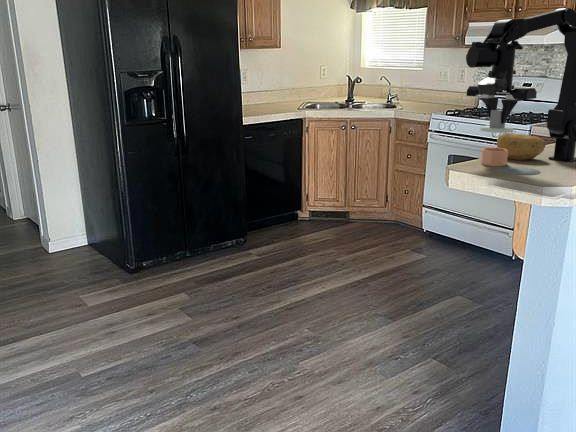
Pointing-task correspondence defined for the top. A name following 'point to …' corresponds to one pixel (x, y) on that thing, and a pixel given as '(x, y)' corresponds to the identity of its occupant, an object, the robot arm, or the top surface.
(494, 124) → the lid
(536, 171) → the mat
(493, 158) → the cup
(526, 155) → the potato
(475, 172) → the top surface
